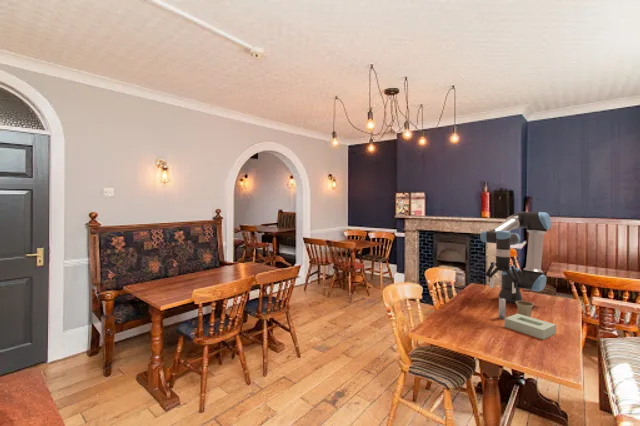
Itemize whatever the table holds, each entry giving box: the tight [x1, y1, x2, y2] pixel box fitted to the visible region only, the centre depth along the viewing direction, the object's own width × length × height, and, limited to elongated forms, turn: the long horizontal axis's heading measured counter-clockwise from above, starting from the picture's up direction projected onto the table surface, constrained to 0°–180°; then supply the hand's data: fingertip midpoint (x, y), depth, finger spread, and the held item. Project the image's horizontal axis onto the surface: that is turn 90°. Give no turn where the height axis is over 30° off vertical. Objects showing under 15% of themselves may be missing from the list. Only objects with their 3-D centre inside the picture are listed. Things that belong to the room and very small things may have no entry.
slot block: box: [504, 313, 557, 340], centre depth 178 cm, size 14×20×5 cm
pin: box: [498, 297, 507, 320], centre depth 196 cm, size 4×4×12 cm
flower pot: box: [515, 300, 535, 317], centre depth 198 cm, size 9×9×9 cm
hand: (502, 290), depth 196 cm, fingers open, 13 cm apart
